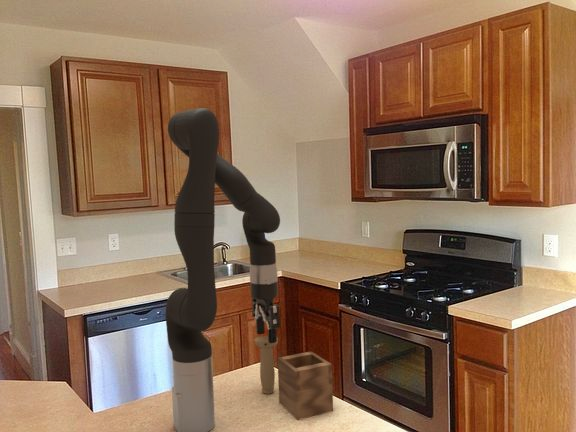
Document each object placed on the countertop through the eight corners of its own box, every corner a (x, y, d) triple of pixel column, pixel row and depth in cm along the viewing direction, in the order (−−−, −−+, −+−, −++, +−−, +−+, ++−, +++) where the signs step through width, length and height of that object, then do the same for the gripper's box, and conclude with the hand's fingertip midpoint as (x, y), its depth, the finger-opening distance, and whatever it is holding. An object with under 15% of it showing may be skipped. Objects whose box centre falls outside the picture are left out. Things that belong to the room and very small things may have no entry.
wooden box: (297, 419, 123) (295, 371, 122) (279, 402, 133) (277, 357, 132) (333, 410, 127) (331, 364, 126) (312, 394, 137) (311, 351, 136)
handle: (257, 388, 142) (255, 336, 141) (280, 388, 142) (278, 335, 141) (255, 396, 137) (253, 341, 136) (279, 395, 137) (277, 341, 136)
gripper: (241, 277, 142) (244, 333, 144) (260, 286, 129) (263, 348, 131) (266, 274, 146) (269, 329, 147) (287, 282, 133) (289, 343, 134)
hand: (266, 338), depth 139 cm, fingers open, 8 cm apart
